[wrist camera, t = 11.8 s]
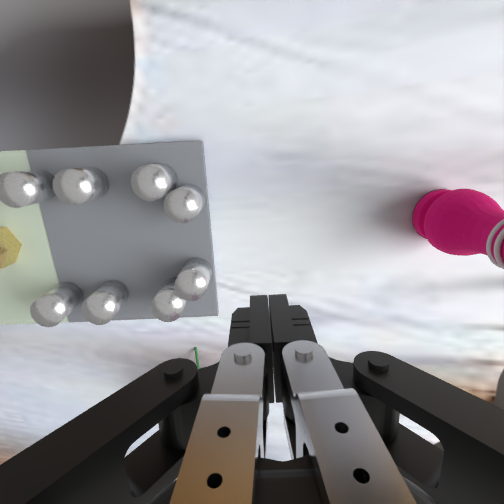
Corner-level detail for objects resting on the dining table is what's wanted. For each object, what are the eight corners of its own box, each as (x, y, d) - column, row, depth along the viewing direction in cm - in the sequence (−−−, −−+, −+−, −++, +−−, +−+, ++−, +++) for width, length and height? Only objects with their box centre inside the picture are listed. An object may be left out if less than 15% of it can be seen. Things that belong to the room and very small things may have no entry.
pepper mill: (402, 241, 40) (537, 322, 21) (414, 183, 38) (574, 215, 19) (459, 244, 40) (644, 326, 21) (474, 186, 38) (693, 220, 19)
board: (-70, 155, 37) (-79, 155, 36) (202, 140, 37) (201, 140, 36) (-14, 322, 44) (-20, 326, 43) (218, 312, 43) (217, 315, 42)
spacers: (23, 170, 37) (-11, 173, 32) (201, 161, 37) (194, 162, 32) (59, 307, 42) (34, 327, 37) (214, 300, 42) (209, 320, 37)
